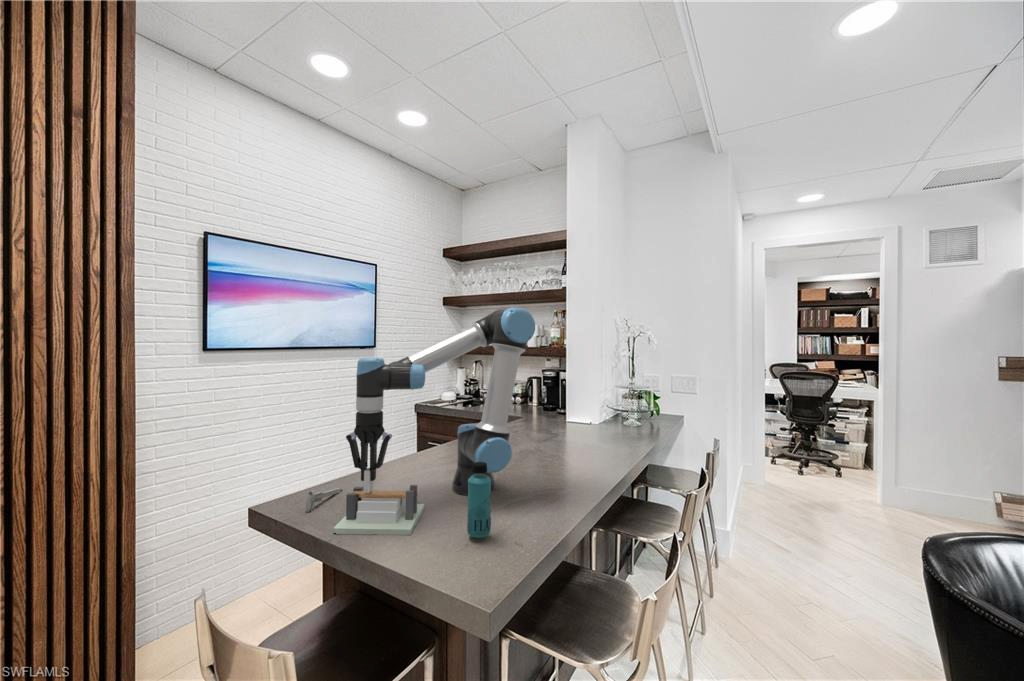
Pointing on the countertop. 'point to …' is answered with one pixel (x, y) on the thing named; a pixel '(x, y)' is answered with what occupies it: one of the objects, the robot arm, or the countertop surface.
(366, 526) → the processor board
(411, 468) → the countertop surface
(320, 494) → the caliper
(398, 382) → the robot arm
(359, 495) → the bar
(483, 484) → the beverage bottle
